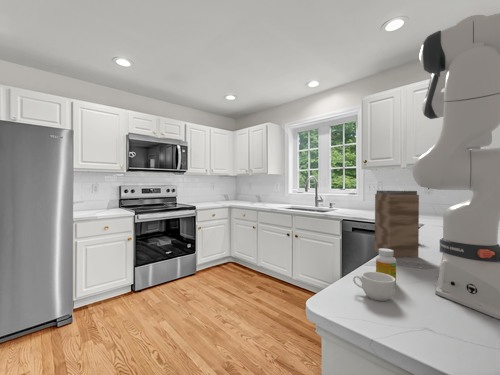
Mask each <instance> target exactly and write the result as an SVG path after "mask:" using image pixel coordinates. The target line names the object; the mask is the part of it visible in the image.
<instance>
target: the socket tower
mask: <svg viewBox="0 0 500 375" xmlns="http://www.w3.org/2000/svg"><path fill="white" fill-rule="evenodd" d="M374 197H375V198H374V253H375V252H376V253H377V254H379V249H381V248H384V249H391V250H393V251H394V256H393V257H394V258H418V257H419V242H420V241H419V235H420V233H419V232H420V231H419V229H420V228H419V227H420V226H419V222H420V221H419V218H420V216H419V215H420V204H419V203H420V195H419V194H418V191H417V190H376V193H375V194H374Z"/></svg>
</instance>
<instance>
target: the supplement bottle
mask: <svg viewBox="0 0 500 375" xmlns="http://www.w3.org/2000/svg"><path fill="white" fill-rule="evenodd" d="M393 256H394V251H393V250H391V249H384V248H381V249H379V253H378V255H377V256H376V258H375V259H376V260H375V272H379V273H384V274H387V275H390V276H392V277H394V278H395V285H396V284H397V259H396V257H393Z"/></svg>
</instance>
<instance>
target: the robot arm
mask: <svg viewBox="0 0 500 375" xmlns="http://www.w3.org/2000/svg"><path fill="white" fill-rule="evenodd" d="M420 48H421V49H420V52H419V62H420V64H421V66H422V67H423V71H425V72H426V73H427V74H431V77H430V80H429V83H428V87H427V92H426V95H425V97H424V100H423V103H422V107H421V108H422V113H423V115H424V116H425V117H426V118H428V119H430V120H434V119H439V118H442V119H443V121H442V127H441V131H440V134H439V136H438V138H437V140H436V141H435V143H434V144H433V146H432V147H430V148H429V149H428V150H427V151H426V152H425V153H423V154H421V155H420V156H419V157H418V158H416V160H415V162H414V164H413V166H412V178H413V179H414V181H415V182H416V183H417V185H418V186H420V187H421V188H426V189H432V190H440V191H470V192H472V193H473V194H472V196H471V197H470V198H469V199H468V200H465V201H461V202H459V203H456V204H453V205H451V206H449V207H448V208H446V210H444V212H443V215H442V217H443V218H442V220H443V222H442V238H441V251H442V252H443V253H442V252H441V253H442V255H441V260H440V261H441V262H440V268H439V271H438V272H439V273H438V279H437V281H436V284H435V292H434V293H435V294H436V295H438V296H440V297H443V298H445V299H448V300H450V301H453V302H456V303H458V304H460V305H463V306H465V307H468V308H470V309H472V310H473V309H474V310H475V311H478V312H481V313H483V314H485V315H487V316H491V317H493V318H496V319H498V320H500V244H499V243H498V241H499V240H498V239H499V238H498V233H499V225H500V223H499V222H500V147H492V148H491V147H490V148H484V147H489V146H491V144H492V141H493V134H492V133H493V131H495V130H496V129H497V128H498V127H499V126H500V13H495V14H494V13H493V14H490V15H484V14H473V15H470V16H467V17H465V18H463V19H462V20H460V21H459V22H457V23H456V24H454V25H453V26H450V27H447V28H445V29H443V30H438V31H435V32H433V33H431V34H430V35H428V36H427V37H426V38H425V39H424V41H423V44H422V45H421V47H420ZM442 90H444V91H442Z"/></svg>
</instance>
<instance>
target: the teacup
mask: <svg viewBox="0 0 500 375" xmlns="http://www.w3.org/2000/svg"><path fill="white" fill-rule="evenodd" d="M356 278H357V279H359V281H360V283H361V284H359V283H357V282H356ZM352 281H353V283H354V284H355V286H357V287H358V288H361V289H362V290H363V292H364V294H365V295H366V297H369V299H371V300H374V301H378V302H385V301H388V300H390V299H391V298H392V297H394V293H395V287H396V284H395V278H394V277H392V276H390V275H387V274H384V273H379V272H376V271H363V272H362V273H361V276H360V275H354V276H353V279H352Z"/></svg>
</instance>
